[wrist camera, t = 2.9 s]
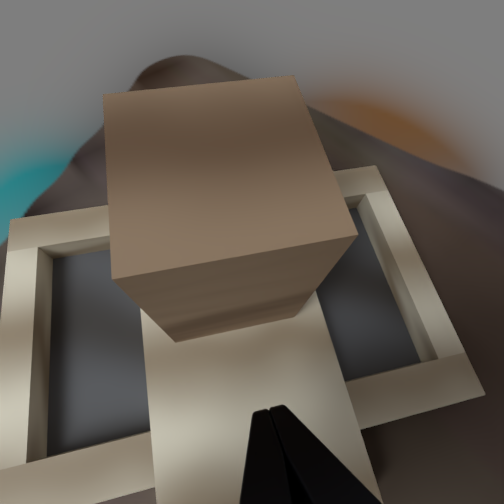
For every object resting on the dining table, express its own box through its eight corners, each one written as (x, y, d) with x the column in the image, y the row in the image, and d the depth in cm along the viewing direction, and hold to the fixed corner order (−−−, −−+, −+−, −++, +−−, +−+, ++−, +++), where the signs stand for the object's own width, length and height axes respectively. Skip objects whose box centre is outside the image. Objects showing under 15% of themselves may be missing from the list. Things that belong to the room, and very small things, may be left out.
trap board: (487, 459, 16) (564, 478, 12) (7, 609, 13) (-84, 695, 9) (334, 117, 25) (351, 70, 21) (36, 154, 22) (-3, 105, 18)
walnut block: (294, 317, 16) (358, 234, 8) (175, 342, 15) (111, 279, 7) (266, 217, 19) (293, 75, 10) (162, 234, 18) (102, 94, 10)
